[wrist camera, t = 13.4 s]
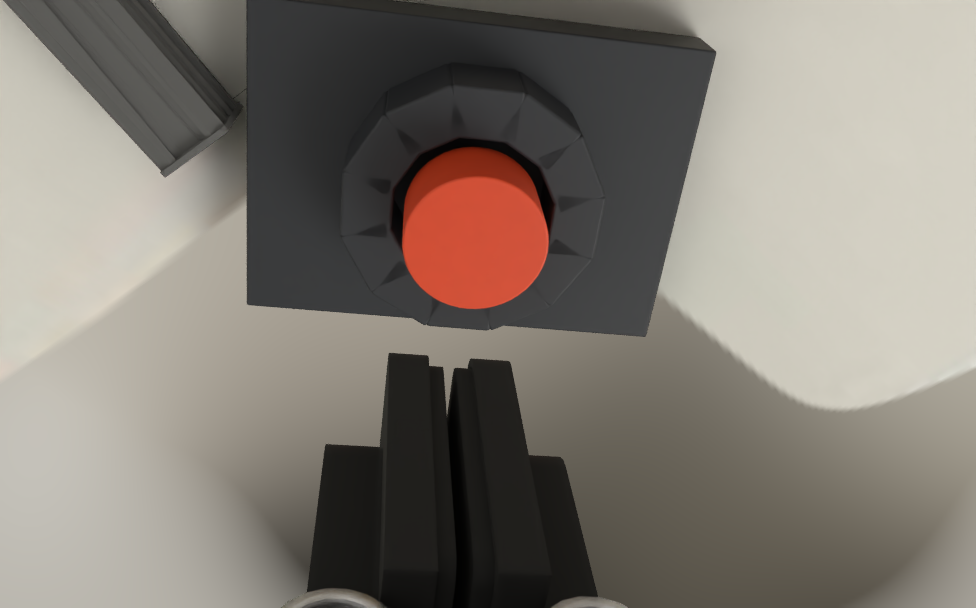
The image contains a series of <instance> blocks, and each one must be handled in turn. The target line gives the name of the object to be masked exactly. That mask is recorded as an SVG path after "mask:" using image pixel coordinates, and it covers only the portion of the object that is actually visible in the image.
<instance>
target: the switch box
mask: <svg viewBox="0 0 976 608" xmlns="http://www.w3.org/2000/svg"><path fill="white" fill-rule="evenodd" d="M715 56H716V51H715V50H714V49H712V48H711V47H710V46H709V45H708V44H706V43H705V42H704V41H703V40H701V39H700V38H698V37H690V36H681V35H673V34H665V33H657V32H648V31H640V30H632V29H624V28H615V27H607V26H599V25H591V24H583V23H574V22H566V21H558V20H550V19H541V18H533V17H525V16H517V15H508V14H500V13H492V12H484V11H475V10H467V9H459V8H451V7H443V6H434V5H426V4H418V3H410V2H401V1H393V0H247V304H248V305H255V306H267V307H280V308H292V309H305V310H317V311H330V312H343V313H356V314H368V315H380V316H393V317H405V318H413V319H415V320H417V321H418V322H420V323H421V324H423V325H426V324H427V325H429V326H438V327H451V328H465V329H476V330H489V329H491V330H493V329H496V328H498V327H501V326H503V325H505V326H517V327H529V328H542V329H555V330H567V331H579V332H592V333H604V334H617V335H629V336H642V337H645V336H646V334H647V330H648V326H649V322H650V318H651V314H652V310H653V306H654V302H655V298H656V294H657V290H658V286H659V282H660V278H661V274H662V270H663V266H664V262H665V257H666V253H667V249H668V245H669V241H670V237H671V233H672V229H673V225H674V221H675V217H676V213H677V209H678V205H679V201H680V197H681V193H682V189H683V185H684V181H685V177H686V173H687V169H688V165H689V161H690V157H691V153H692V149H693V145H694V141H695V137H696V133H697V129H698V125H699V121H700V117H701V113H702V109H703V105H704V100H705V96H706V92H707V88H708V84H709V80H710V76H711V72H712V68H713V64H714V60H715ZM462 147H483V148H489V149H493V150H496V151H499V152H501V153H503V154H505V155H507V156H509V157H510V158H512V159H514V160H515V161H516V162H517V163H519V164H520V165H521V166H522V167H523V168H524V169H525V171H526V172H527V173H528V175H529V176H530V177H531V179H532V181H533V183H534V185H535V188H536V191H537V194H538V197H539V200H540V204H541V207H542V211H543V214H544V217H545V221H546V224H547V229H548V235H549V246H548V253H547V257H546V260H545V263H544V265H543V268H542V270H541V271H540V273H539V275H538V276H537V278H536V279H535V280H534V282H533V283H532V284H531V285H530V286H529V287H528V288H527V289H526V290H525V291H523V292H522V293H521V294H520V295H518V296H517V297H515V298H513V299H512V300H510V301H508V302H505V303H503V304H500V305H497V306H494V307H489V308H482V309H466V308H458V307H455V306H451V305H448V304H445V303H443V302H441V301H439V300H437V299H435V298H433V297H432V296H430V295H429V294H428V293H426V292H425V291H424V290H423V289H422V288H421V287H420V286H419V285H418V284H417V283H416V282H415V280H414V279H413V277H412V276H411V274H410V272H409V270H408V268H407V266H406V263H405V260H404V256H403V249H402V236H403V217H404V203H405V197H406V194H407V190H408V188H409V186H410V184H411V181H412V180H413V178H414V177H415V175H416V174H417V173H418V171H419V170H420V169H421V168H422V167H423V166H424V165H425V164H426V163H428V162H429V161H430V160H432V159H433V158H435V157H436V156H438V155H440V154H442V153H444V152H447V151H450V150H453V149H457V148H462Z"/></svg>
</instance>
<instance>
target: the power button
mask: <svg viewBox="0 0 976 608" xmlns="http://www.w3.org/2000/svg"><path fill="white" fill-rule="evenodd" d="M548 246H549V235H548V229H547V224H546V221H545V217H544V214H543V211H542V207H541V204H540V200H539V197H538V194H537V191H536V188H535V185H534V183H533V181H532V179H531V177H530V176H529V175H528V173H527V172H526V171H525V169H524V168H523V167H522V166H521V165H520V164H519V163H517V162H516V161H515V160H514V159H512V158H510V157H509V156H507V155H505V154H503V153H501V152H499V151H496V150H493V149H489V148H483V147H462V148H457V149H453V150H450V151H447V152H444V153H442V154H440V155H438V156H436V157H435V158H433V159H432V160H430V161H429V162H428V163H426V164H425V165H424V166H423V167H422V168H421V169H420V170H419V171H418V173H417V174H416V175H415V177H414V178H413V180H412V181H411V184H410V186H409V188H408V190H407V194H406V197H405V203H404V217H403V236H402V249H403V256H404V260H405V263H406V266H407V268H408V270H409V272H410V274H411V276H412V277H413V279H414V280H415V282H416V283H417V284H418V285H419V286H420V287H421V288H422V289H423V290H424V291H425V292H426V293H428V294H429V295H430V296H432V297H433V298H435V299H437V300H439V301H441V302H443V303H445V304H448V305H451V306H455V307H458V308H466V309H482V308H489V307H494V306H497V305H500V304H503V303H505V302H508V301H510V300H512V299H513V298H515V297H517V296H518V295H520V294H521V293H522V292H523V291H525V290H526V289H527V288H528V287H529V286H530V285H531V284H532V283H533V282H534V280H535V279H536V278H537V276H538V275H539V273H540V271H541V270H542V268H543V265H544V263H545V260H546V257H547V253H548Z"/></svg>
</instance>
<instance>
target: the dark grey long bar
mask: <svg viewBox="0 0 976 608" xmlns="http://www.w3.org/2000/svg"><path fill="white" fill-rule="evenodd" d="M4 2H5V3H6V4H7V5H8V6H9V7H10V8H11V9H12V10H13V11H14V12H15V13H16V15H17V16H18V17H19V18H20V19H21V20H22V21H23V22H24V23H25V24H26V25H27V26H28V27H29V29H30V30H31V31H32V32H33V33H34V34H35V35H36V36H37V37H38V38H39V39H40V40H41V42H42V43H43V44H44V45H45V46H46V47H47V48H48V49H49V50H50V51H51V52H52V53H53V54H54V56H55V57H56V58H57V59H58V60H59V61H60V62H61V63H62V64H63V65H64V66H65V67H66V69H67V70H68V71H69V72H70V73H71V74H72V75H73V76H74V77H75V78H76V79H77V80H78V81H79V83H80V84H81V85H82V86H83V87H84V88H85V89H86V90H87V91H88V92H89V93H90V94H91V96H92V97H93V98H94V99H95V100H96V101H97V102H98V103H99V104H100V105H101V106H102V107H103V108H104V110H105V111H106V112H107V113H108V114H109V115H110V116H111V117H112V118H113V119H114V120H115V121H116V123H117V124H118V125H119V126H120V127H121V128H122V129H123V130H124V131H125V132H126V133H127V134H128V135H129V137H130V138H131V139H132V140H133V141H134V142H135V143H136V144H137V145H138V146H139V147H140V148H141V150H142V151H143V152H144V153H145V154H146V155H147V156H148V157H149V158H150V159H151V160H152V161H153V162H154V164H155V165H156V166H157V167H158V168H159V169H160V170H161V172H160V173H161V174H162V175H163V176H164V177H167V176H168V175H170V174H171V173H172V172H174V171H175V170H176V169H178V168H179V167H180V166H182V165H183V164H185V163H186V162H187V161H189V160H190V159H191V158H193V157H194V156H196V155H197V154H198V153H200V152H201V151H202V150H204V149H205V148H206V147H208V146H209V145H211V144H212V143H213V142H215V141H216V140H217V139H219V138H220V137H222V136H223V135H224V134H226V133H227V132H228V131H229V130H230V128H231V126H232V125H233V123H234V121H235V120H236V118H237V117H238V115H239V113H240V112H241V110H242V108H243V105H242V104H241V103H240V102H238V103H237V104H236V103H235V101H234V100H233V99H234V98H235V97H234V98H233V99H232V98H231V97H230V95H229V94H228V93H227V92H226V91H225V90H224V88H223V87H222V86H221V85H220V84H219V82H218V81H217V80H216V79H215V78H214V76H213V75H212V74H211V73H210V72H209V71H208V69H207V68H206V67H205V66H204V65H203V63H202V62H201V61H200V60H199V59H198V57H197V56H196V55H195V54H194V53H193V52H192V50H191V49H190V48H189V47H188V46H187V44H186V43H185V42H184V41H183V40H182V38H181V37H180V36H179V35H178V34H177V33H176V31H175V30H174V29H173V28H172V27H171V25H170V24H169V23H168V22H167V21H166V19H165V18H164V17H163V16H162V15H161V13H160V12H159V11H158V10H157V9H156V8H155V6H154V5H153V4H152V3H151V2H150V0H4ZM246 89H247V88H246ZM246 89H245V90H246ZM242 92H243V91H242ZM242 92H241V93H242ZM238 95H239V94H238ZM238 95H237V96H238Z"/></svg>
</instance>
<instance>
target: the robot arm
mask: <svg viewBox="0 0 976 608" xmlns="http://www.w3.org/2000/svg"><path fill="white" fill-rule="evenodd" d="M281 608H628V607H626V606H624V605H622V604H620V603H618V602H615V601H611V600H608V599H604V598H600V597H598V595H597V591H596V587H595V583H594V579H593V575H592V571H591V567H590V563H589V559H588V555H587V551H586V546H585V543H584V538H583V534H582V530H581V526H580V523H579V518H578V514H577V510H576V507H575V502H574V498H573V495H572V490H571V486H570V482H569V479H568V474H567V470H566V467H565V464H564V461H563V459H562V458H561V457H550V456H533V455H528V449H527V445H526V439H525V434H524V429H523V424H522V419H521V414H520V408H519V403H518V398H517V393H516V388H515V383H514V378H513V373H512V368H511V364H510V362H509V361H499V360H484V359H470V361H469V364H468V369H464V368H455V369H454V372H453V377H452V385H451V392H450V400H449V407H448V414H446V401H445V386H444V372H443V367H436V366H429V358H428V356H427V355H412V354H397V353H389V356H388V365H387V375H386V387H385V396H384V408H383V418H382V428H381V439H380V447H367V446H349V445H331V444H329V445H328V444H326V446H325V451H324V459H323V468H322V475H321V483H320V491H319V499H318V507H317V516H316V524H315V532H314V540H313V548H312V556H311V564H310V572H309V580H308V589H307V592H306V593H304V594H302V595H300V596H298V597H296V598H294V599H292V600H290V601H288V602H287V603H286V604H285V605H283V606H282V607H281Z"/></svg>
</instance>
